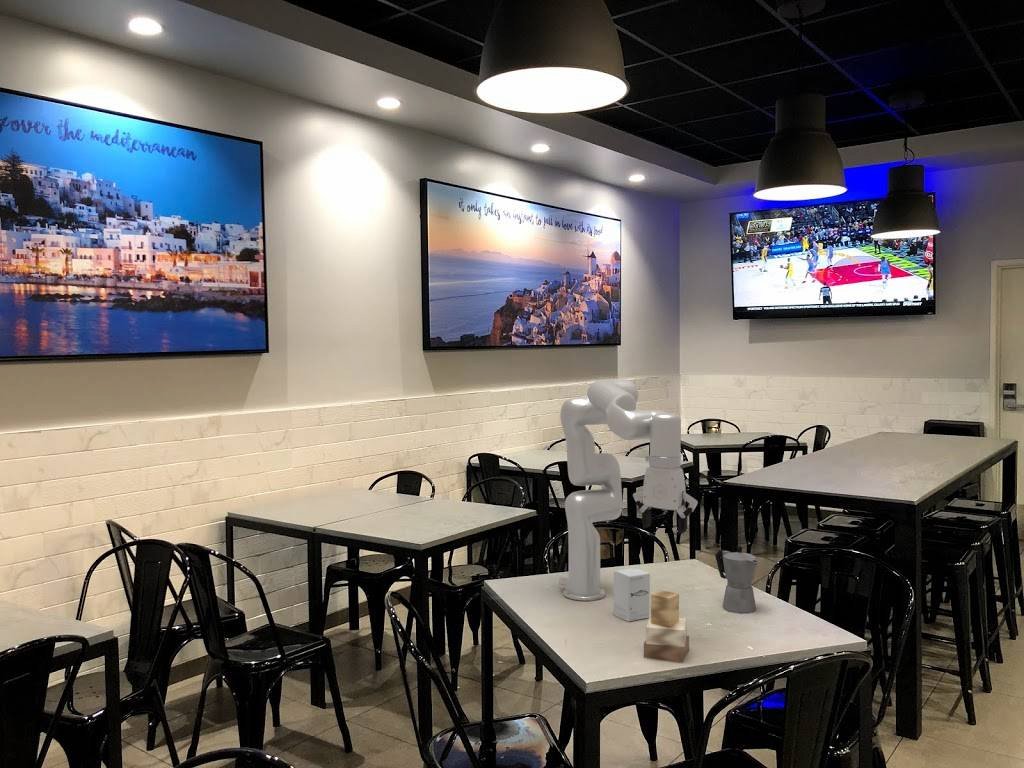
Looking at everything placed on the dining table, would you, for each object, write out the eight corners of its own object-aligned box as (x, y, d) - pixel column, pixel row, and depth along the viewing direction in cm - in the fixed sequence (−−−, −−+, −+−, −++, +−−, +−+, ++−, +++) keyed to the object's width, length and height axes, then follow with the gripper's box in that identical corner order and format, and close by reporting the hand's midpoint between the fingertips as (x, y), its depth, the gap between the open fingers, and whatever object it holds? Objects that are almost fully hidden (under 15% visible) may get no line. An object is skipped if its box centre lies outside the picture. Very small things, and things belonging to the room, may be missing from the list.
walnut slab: (643, 659, 201) (643, 642, 201) (653, 646, 209) (653, 631, 209) (681, 664, 198) (681, 647, 197) (689, 651, 206) (689, 635, 206)
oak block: (650, 623, 203) (651, 594, 203) (660, 618, 207) (660, 590, 207) (669, 627, 200) (669, 598, 200) (678, 622, 204) (678, 593, 204)
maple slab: (646, 643, 200) (646, 627, 200) (649, 631, 209) (650, 615, 209) (684, 646, 198) (684, 630, 198) (686, 634, 207) (686, 618, 206)
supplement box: (628, 622, 227) (628, 576, 226) (612, 614, 233) (612, 570, 233) (650, 618, 230) (650, 572, 230) (634, 610, 237) (634, 566, 236)
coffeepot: (768, 611, 235) (769, 548, 235) (746, 617, 230) (746, 553, 229) (727, 598, 248) (727, 538, 247) (704, 603, 243) (704, 542, 242)
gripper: (627, 461, 211) (626, 528, 212) (690, 467, 201) (689, 538, 202) (641, 457, 217) (640, 522, 218) (703, 464, 207) (702, 532, 208)
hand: (664, 530), depth 210 cm, fingers open, 9 cm apart
